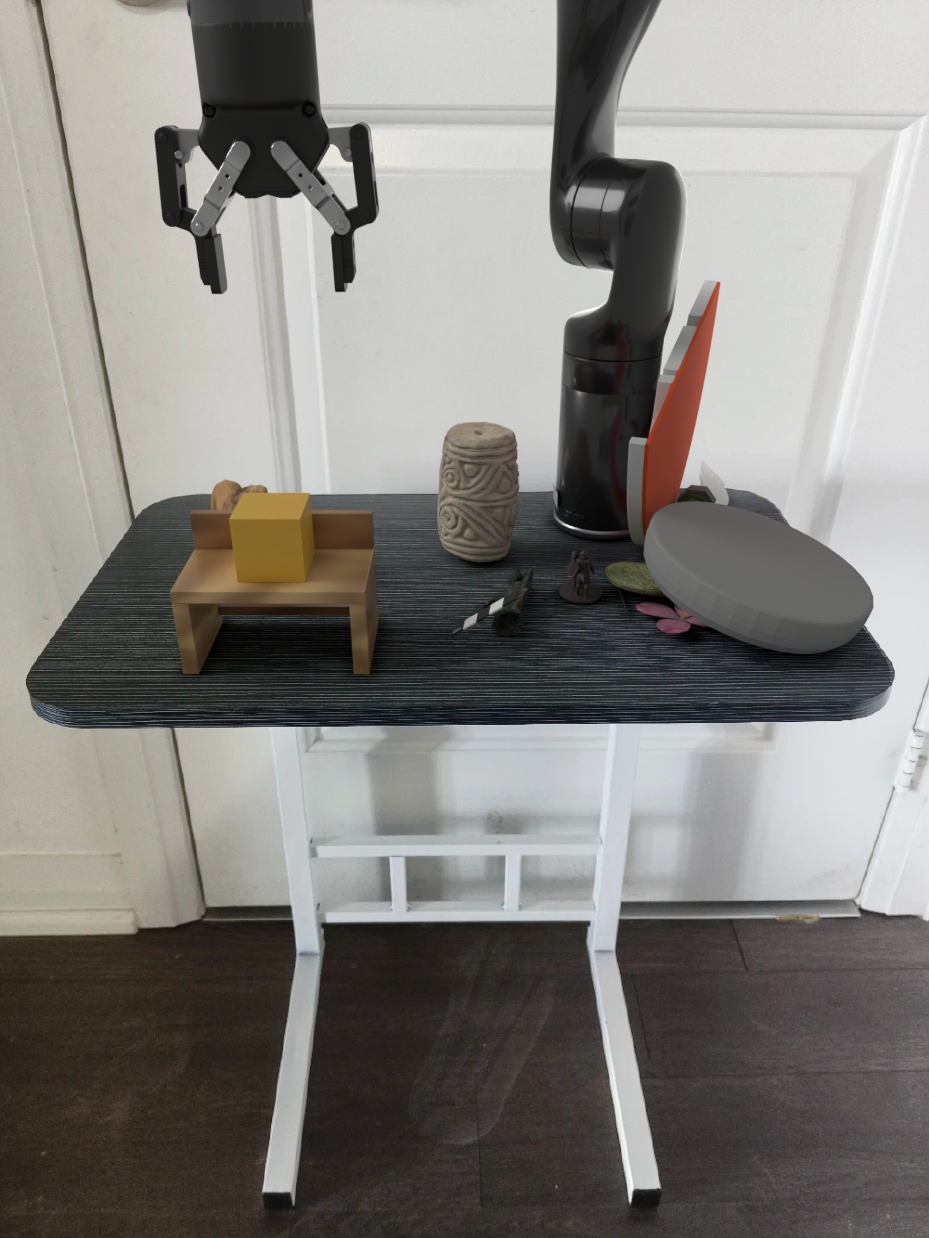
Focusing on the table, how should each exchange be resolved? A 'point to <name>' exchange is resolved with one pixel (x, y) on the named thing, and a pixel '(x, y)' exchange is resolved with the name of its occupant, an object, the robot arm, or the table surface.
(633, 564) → the medallion
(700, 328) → the wall plaque
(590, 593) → the figurine
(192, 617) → the bench
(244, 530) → the block
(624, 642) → the table surface
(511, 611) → the figurine
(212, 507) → the lion figurine
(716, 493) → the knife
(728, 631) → the decorative stone
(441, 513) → the carving
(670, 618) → the flower
